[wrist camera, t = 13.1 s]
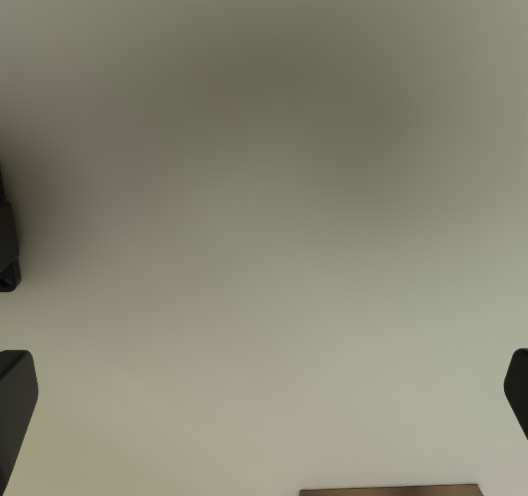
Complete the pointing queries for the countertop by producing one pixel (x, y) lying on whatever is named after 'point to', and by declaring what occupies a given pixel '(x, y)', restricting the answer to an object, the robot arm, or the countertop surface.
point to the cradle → (401, 491)
